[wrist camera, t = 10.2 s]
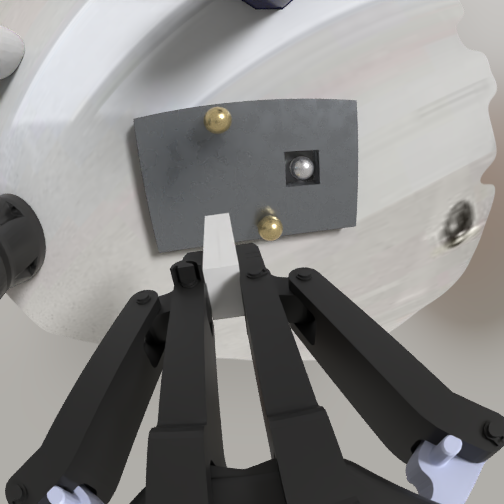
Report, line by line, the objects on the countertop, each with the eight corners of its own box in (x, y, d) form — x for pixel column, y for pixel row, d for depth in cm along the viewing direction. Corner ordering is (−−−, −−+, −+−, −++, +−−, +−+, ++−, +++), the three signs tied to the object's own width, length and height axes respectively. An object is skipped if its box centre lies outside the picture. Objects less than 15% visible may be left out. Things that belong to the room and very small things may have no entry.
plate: (161, 244, 39) (159, 252, 37) (138, 118, 31) (133, 119, 29) (348, 220, 42) (355, 226, 39) (348, 100, 33) (356, 100, 31)
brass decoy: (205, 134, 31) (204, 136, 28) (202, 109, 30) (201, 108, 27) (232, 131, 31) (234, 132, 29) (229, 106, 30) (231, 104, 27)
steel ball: (318, 181, 35) (308, 176, 38) (317, 157, 34) (308, 154, 36) (294, 183, 35) (286, 178, 37) (293, 158, 33) (285, 155, 36)
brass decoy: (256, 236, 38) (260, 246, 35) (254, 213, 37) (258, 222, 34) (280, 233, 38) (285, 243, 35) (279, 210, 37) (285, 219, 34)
